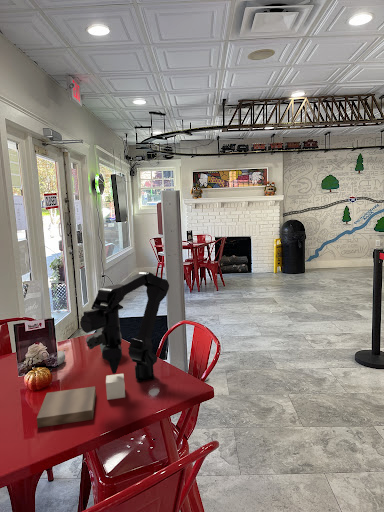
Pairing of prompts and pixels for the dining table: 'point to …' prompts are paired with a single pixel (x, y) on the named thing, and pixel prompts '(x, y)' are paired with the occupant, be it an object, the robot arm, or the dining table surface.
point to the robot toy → (61, 357)
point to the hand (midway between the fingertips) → (114, 367)
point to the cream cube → (115, 386)
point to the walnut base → (67, 407)
